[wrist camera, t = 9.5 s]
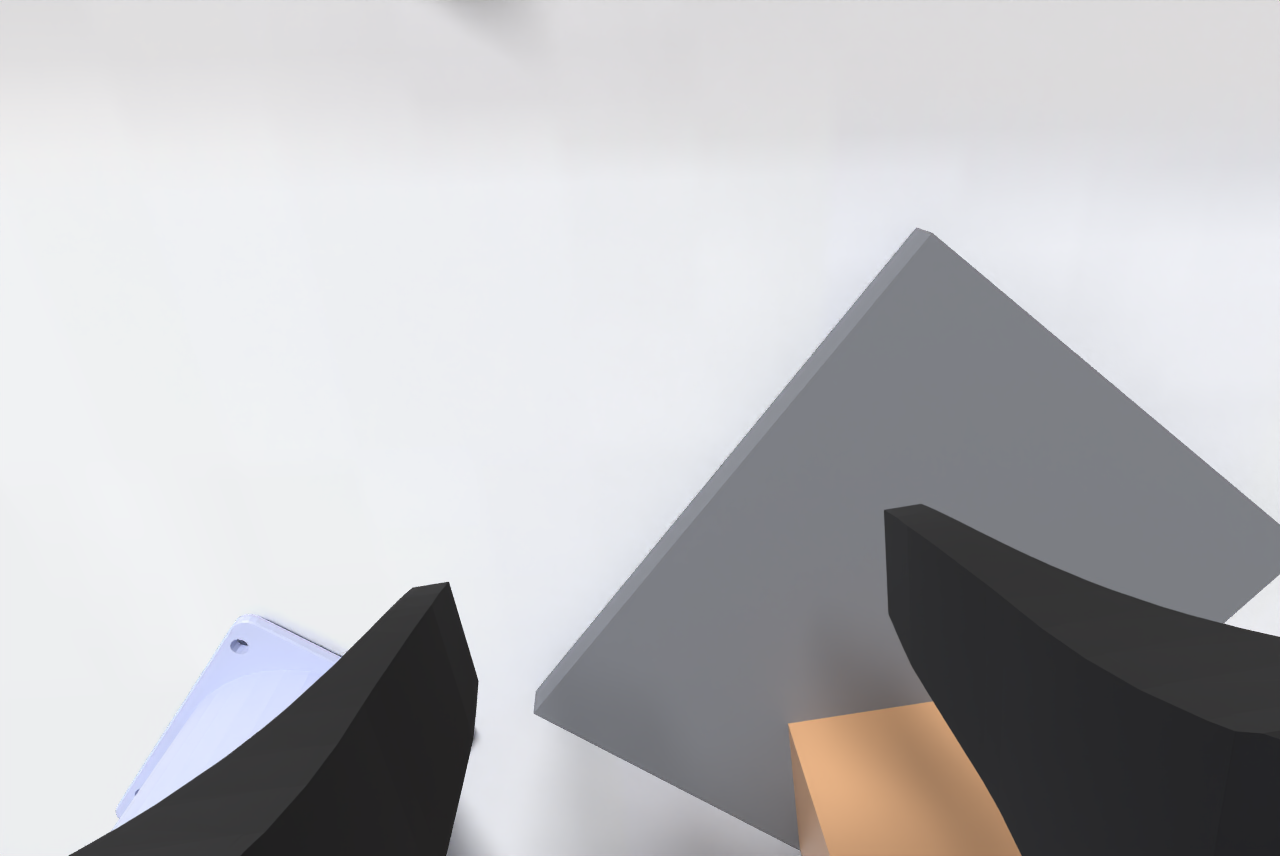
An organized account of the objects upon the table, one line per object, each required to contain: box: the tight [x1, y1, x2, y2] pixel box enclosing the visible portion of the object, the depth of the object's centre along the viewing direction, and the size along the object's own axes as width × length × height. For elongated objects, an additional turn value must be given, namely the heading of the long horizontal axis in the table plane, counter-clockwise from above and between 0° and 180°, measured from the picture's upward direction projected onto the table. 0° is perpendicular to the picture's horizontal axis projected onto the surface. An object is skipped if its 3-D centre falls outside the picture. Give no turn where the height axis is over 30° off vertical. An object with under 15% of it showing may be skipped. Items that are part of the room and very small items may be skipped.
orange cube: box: [788, 701, 1021, 856], centre depth 23 cm, size 6×6×6 cm
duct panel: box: [534, 228, 1280, 850], centre depth 22 cm, size 18×16×5 cm
